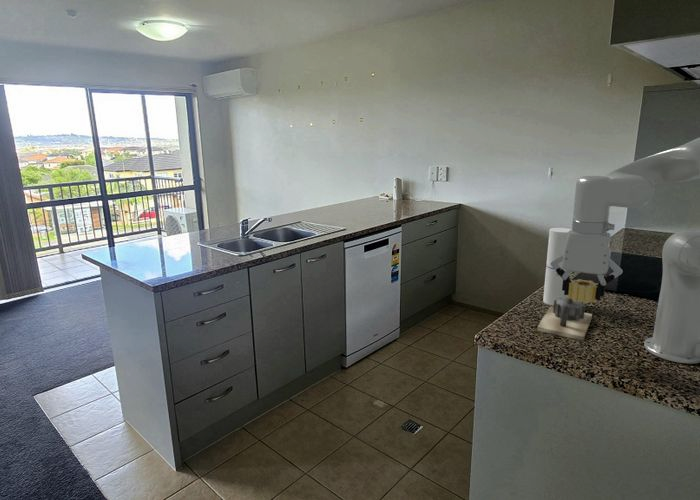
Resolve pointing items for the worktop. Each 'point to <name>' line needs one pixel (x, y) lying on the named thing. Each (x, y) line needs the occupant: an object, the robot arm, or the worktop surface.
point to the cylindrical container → (552, 277)
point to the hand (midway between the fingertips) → (582, 295)
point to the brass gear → (582, 291)
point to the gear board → (564, 331)
